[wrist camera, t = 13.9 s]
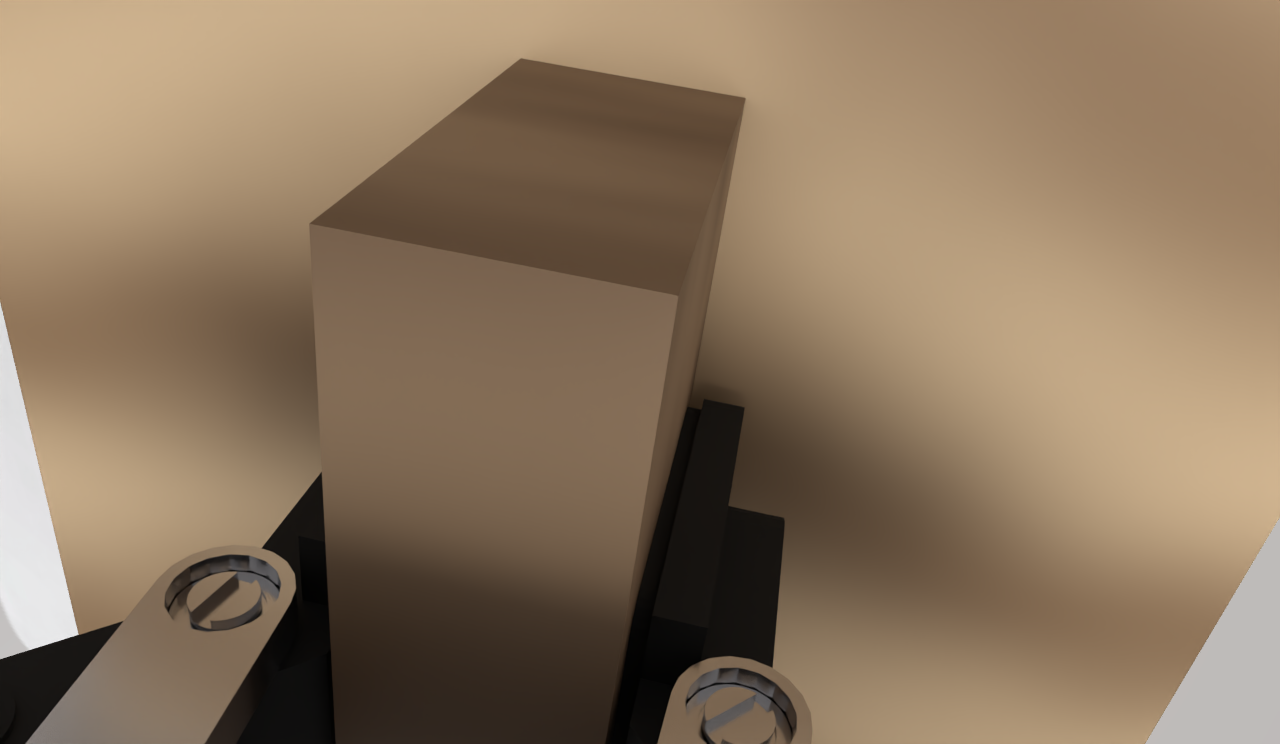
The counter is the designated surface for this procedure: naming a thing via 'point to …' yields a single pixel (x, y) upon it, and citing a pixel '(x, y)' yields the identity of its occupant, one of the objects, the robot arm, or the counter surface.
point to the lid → (664, 333)
